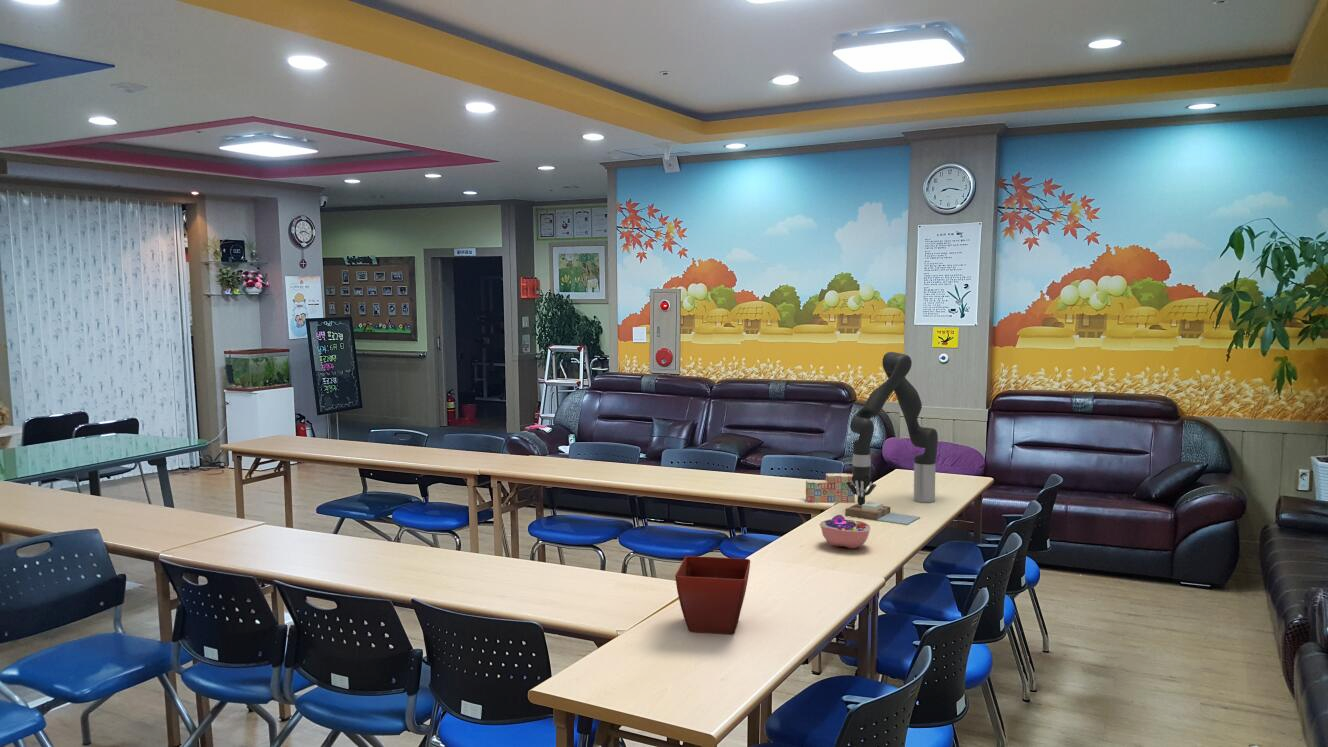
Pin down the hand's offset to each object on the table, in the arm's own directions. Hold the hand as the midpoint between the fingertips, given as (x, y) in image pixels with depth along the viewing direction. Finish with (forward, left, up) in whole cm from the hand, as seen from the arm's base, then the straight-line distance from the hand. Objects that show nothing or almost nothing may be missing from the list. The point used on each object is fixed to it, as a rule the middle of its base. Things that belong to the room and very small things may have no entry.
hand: (861, 504), depth 379 cm
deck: (0, +3, -4) cm, 5 cm away
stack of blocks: (-15, -22, -4) cm, 26 cm away
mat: (0, +17, -4) cm, 17 cm away
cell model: (+51, +16, -4) cm, 53 cm away
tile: (0, +5, -1) cm, 5 cm away
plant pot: (+146, +20, -4) cm, 147 cm away
